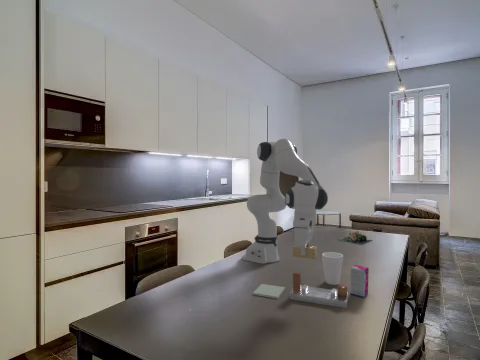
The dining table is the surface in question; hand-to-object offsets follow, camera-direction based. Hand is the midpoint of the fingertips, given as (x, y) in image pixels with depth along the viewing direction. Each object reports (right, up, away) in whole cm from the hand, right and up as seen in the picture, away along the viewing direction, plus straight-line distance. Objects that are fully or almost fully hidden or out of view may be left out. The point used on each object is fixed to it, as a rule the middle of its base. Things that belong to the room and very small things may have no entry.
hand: (304, 252), depth 124 cm
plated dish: (+62, -16, +105) cm, 123 cm away
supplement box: (+23, -18, +2) cm, 30 cm away
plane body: (+5, -18, -2) cm, 19 cm away
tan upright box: (0, -1, 0) cm, 1 cm away
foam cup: (+16, -18, +16) cm, 29 cm away
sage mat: (-14, -18, +5) cm, 24 cm away
